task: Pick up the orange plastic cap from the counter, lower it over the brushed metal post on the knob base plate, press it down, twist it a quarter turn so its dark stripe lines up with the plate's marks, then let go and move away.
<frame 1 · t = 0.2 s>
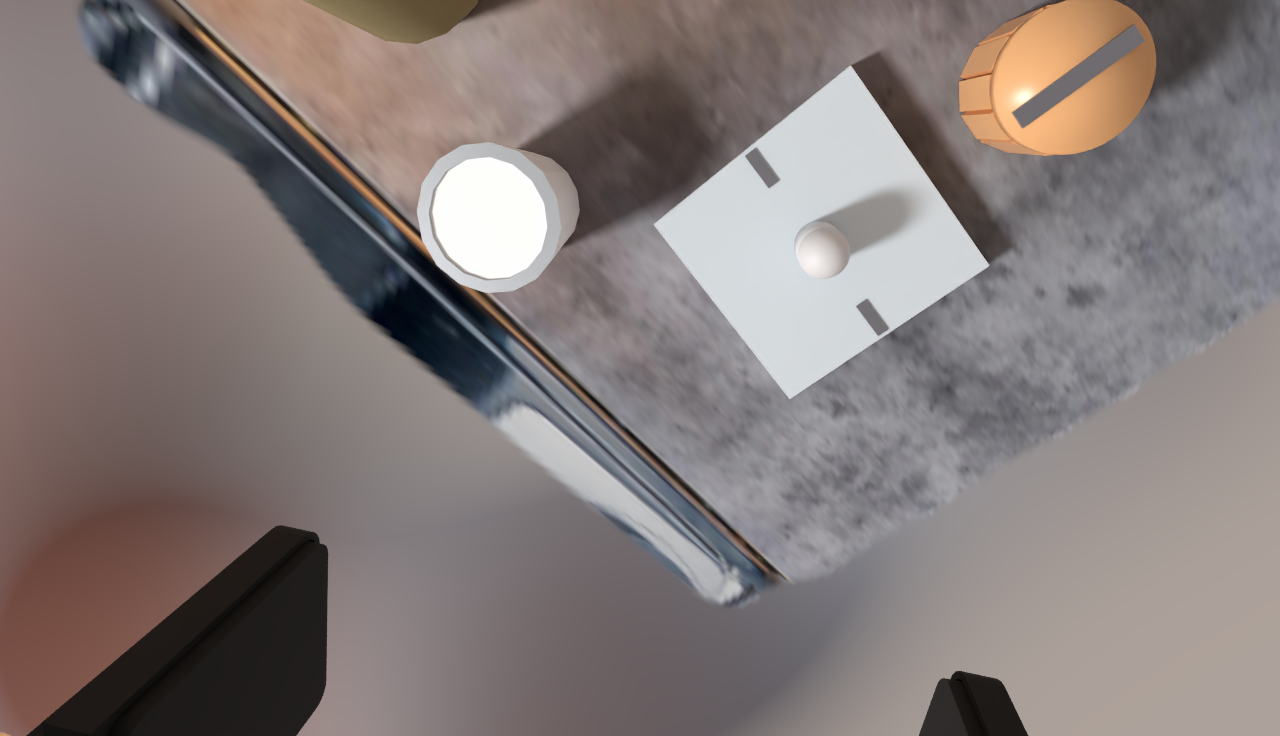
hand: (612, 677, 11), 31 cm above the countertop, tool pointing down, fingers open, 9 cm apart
white cup: (530, 205, 40), on the countertop
knob base plate: (815, 240, 38), on the countertop
cap: (1025, 85, 35), on the countertop
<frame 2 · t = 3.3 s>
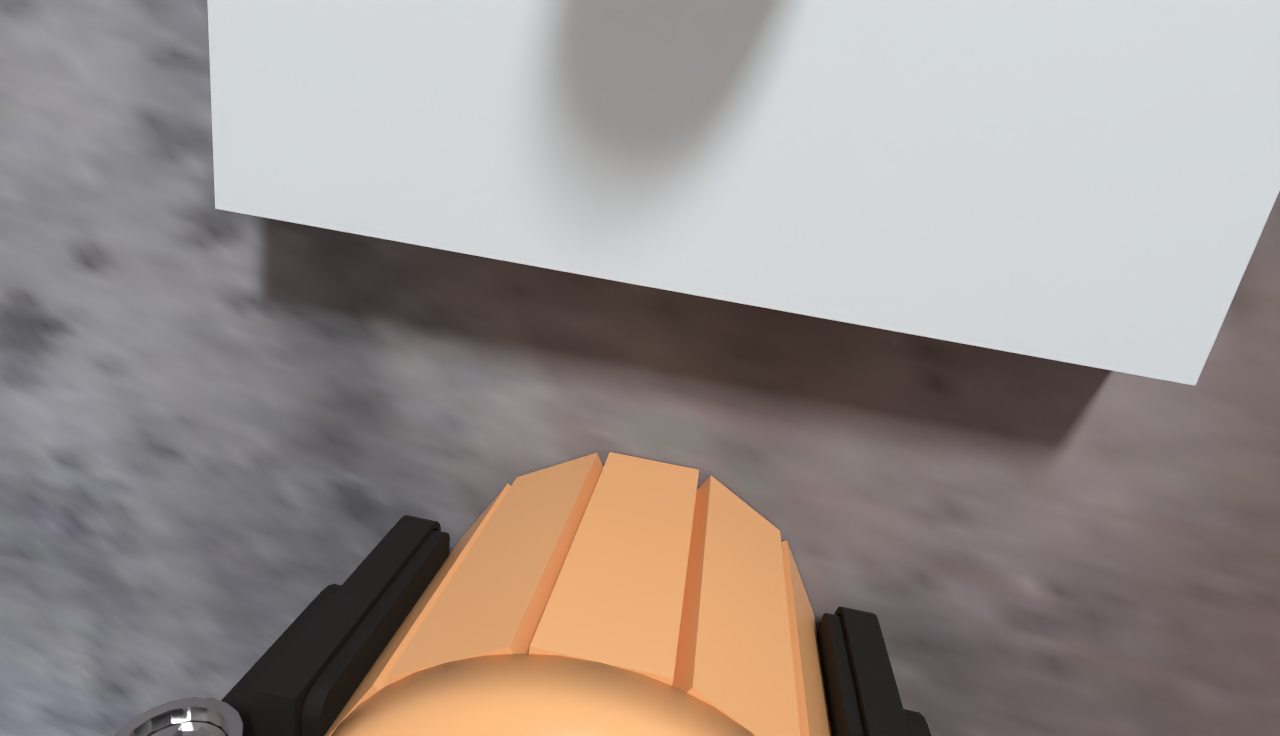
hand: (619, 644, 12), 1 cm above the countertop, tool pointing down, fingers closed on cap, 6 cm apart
cap: (625, 621, 12), on the countertop, touching gripper
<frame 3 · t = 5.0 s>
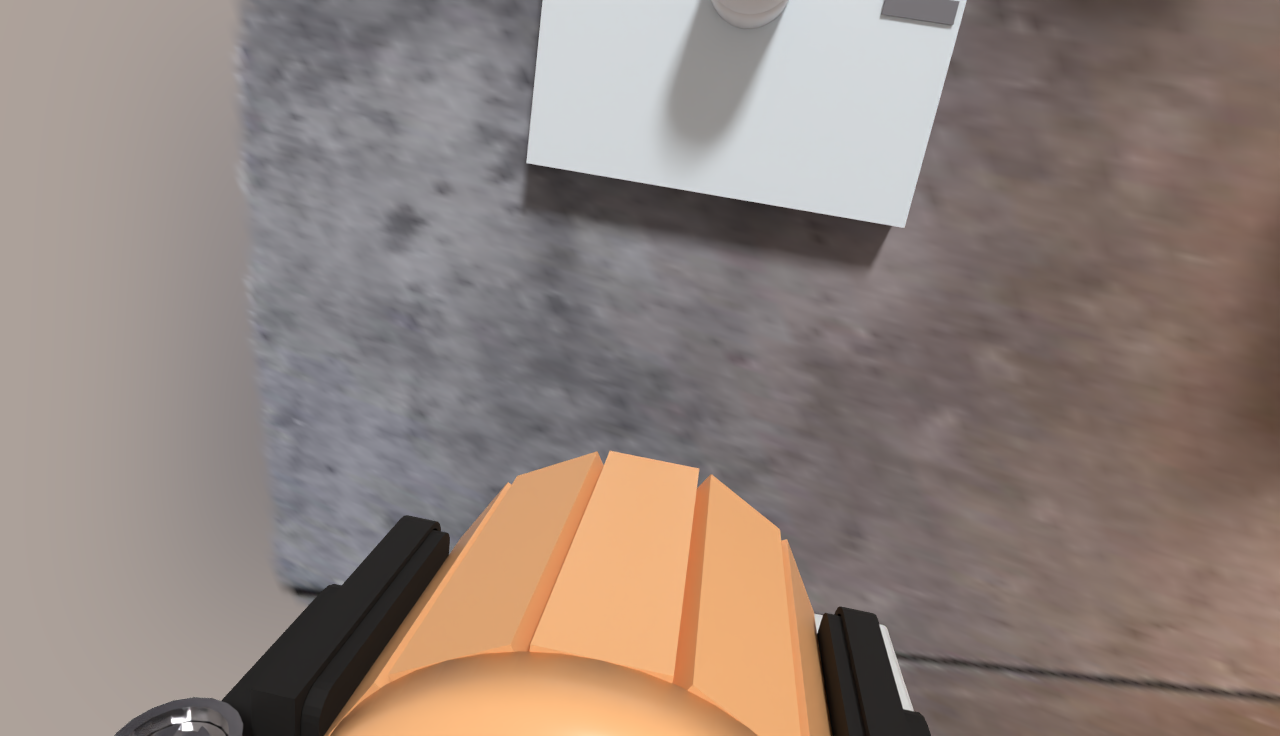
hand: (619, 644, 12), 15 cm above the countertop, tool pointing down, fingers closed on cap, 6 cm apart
cap: (626, 619, 12), point 15 cm above the countertop, touching gripper
small box: (775, 658, 30), on the countertop
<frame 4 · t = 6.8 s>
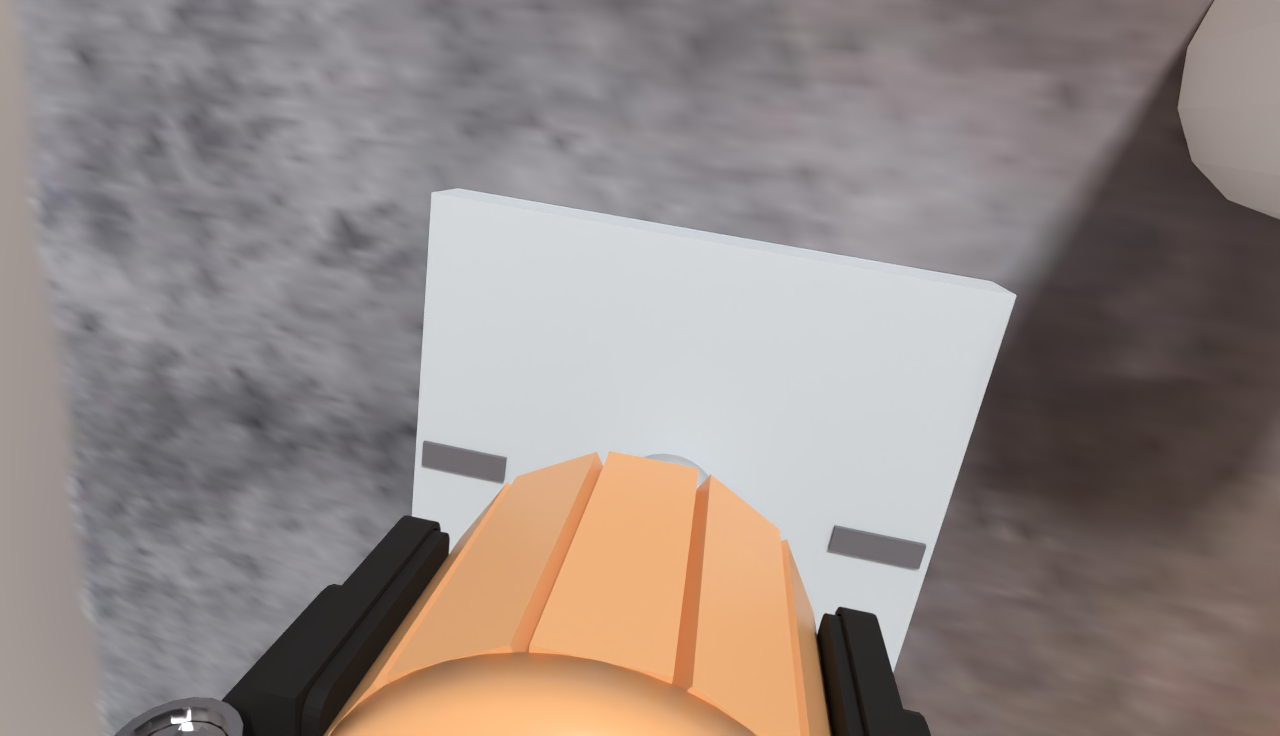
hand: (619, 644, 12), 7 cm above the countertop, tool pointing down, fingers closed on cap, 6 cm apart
knob base plate: (671, 473, 18), on the countertop
cap: (625, 620, 12), point 6 cm above the countertop, touching gripper
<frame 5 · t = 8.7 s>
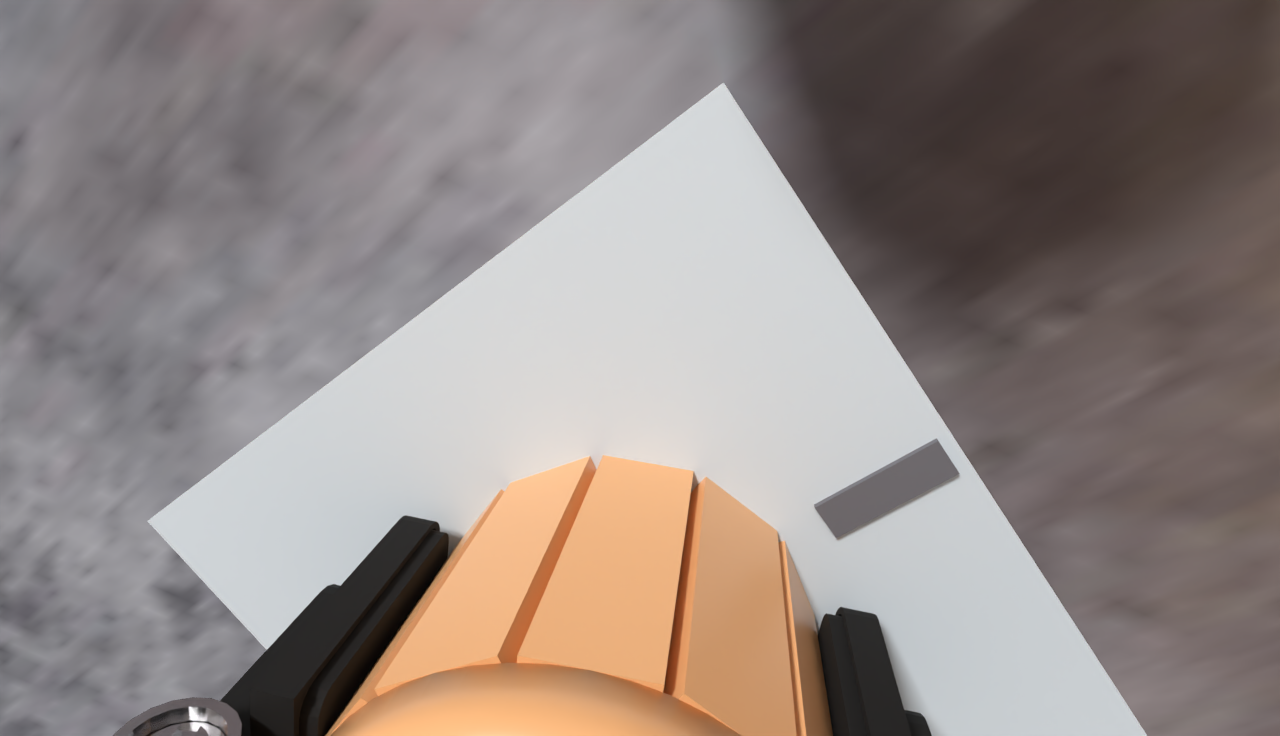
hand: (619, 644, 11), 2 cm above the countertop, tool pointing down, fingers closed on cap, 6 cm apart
knob base plate: (636, 574, 13), on the countertop
cap: (624, 625, 12), point 2 cm above the countertop, touching gripper, knob base plate
when the fingers open (2 cm above the countertop, at t = 10.3 s): cap stays where it is, resting on knob base plate.
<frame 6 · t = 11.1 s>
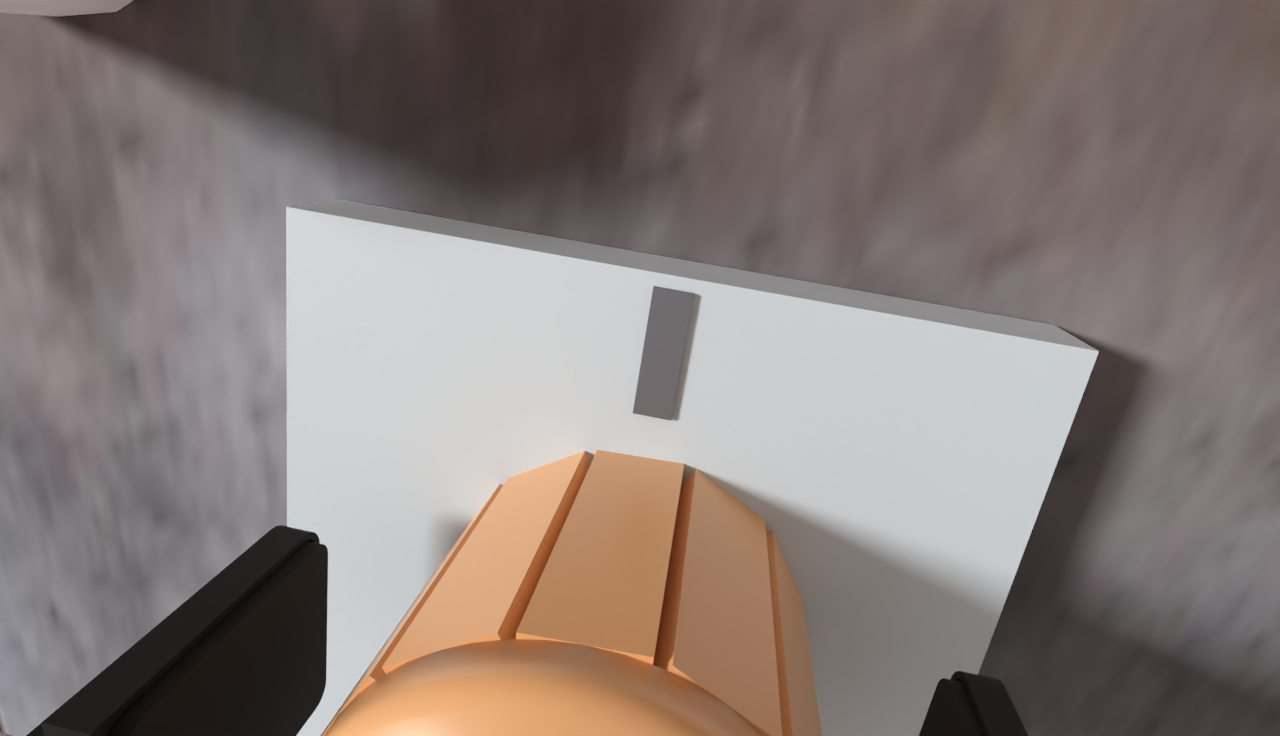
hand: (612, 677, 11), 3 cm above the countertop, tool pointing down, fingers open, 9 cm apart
knob base plate: (629, 568, 14), on the countertop
cap: (620, 614, 12), point 1 cm above the countertop, touching knob base plate
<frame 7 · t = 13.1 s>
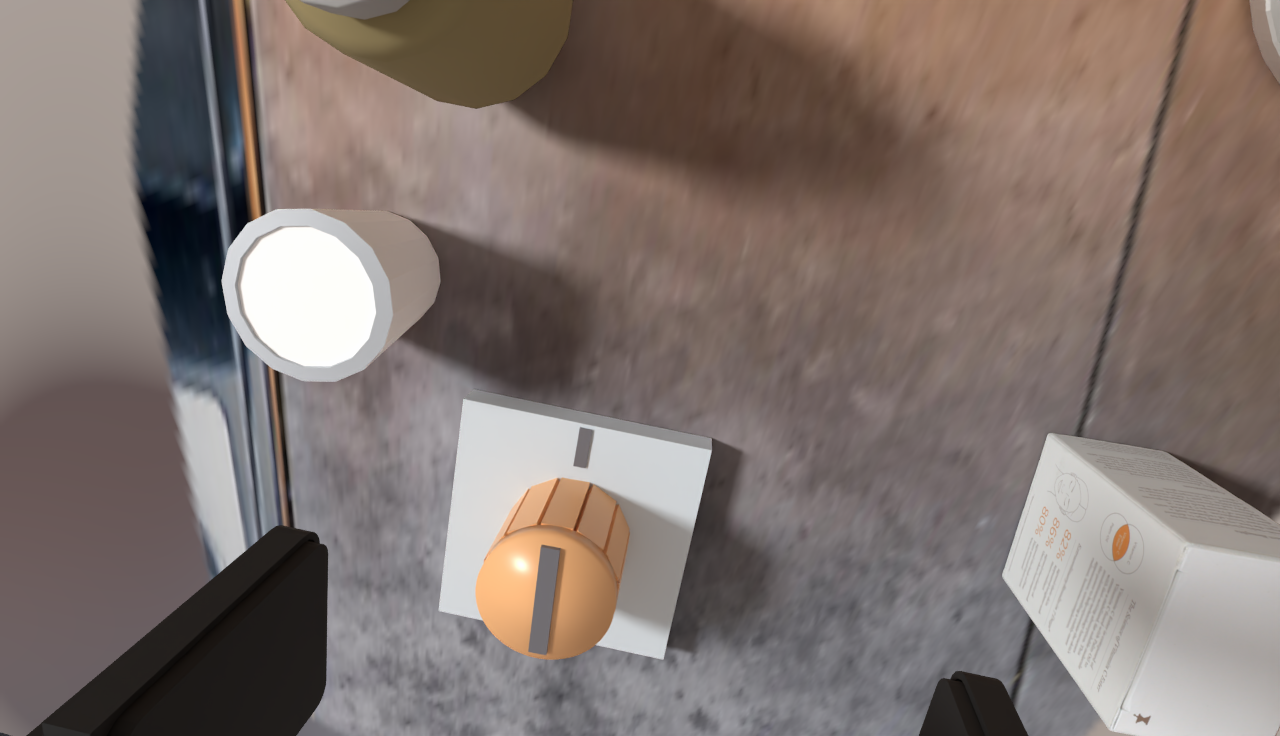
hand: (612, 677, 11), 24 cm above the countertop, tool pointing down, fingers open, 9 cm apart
white cup: (385, 269, 35), on the countertop
squeeze bottle: (496, 13, 31), on the countertop
knob base plate: (573, 520, 37), on the countertop
cap: (568, 534, 36), point 1 cm above the countertop, touching knob base plate
small box: (1077, 511, 35), on the countertop
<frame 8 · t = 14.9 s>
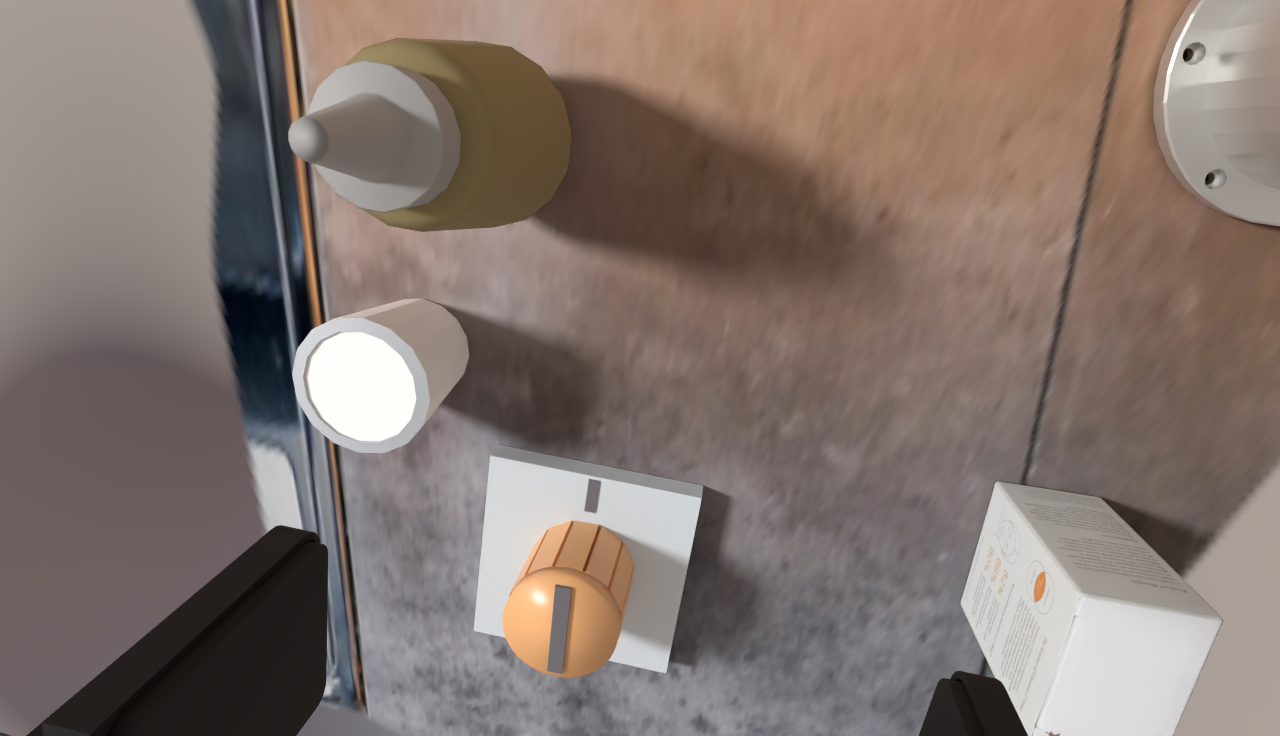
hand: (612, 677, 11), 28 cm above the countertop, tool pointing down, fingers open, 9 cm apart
white cup: (422, 346, 41), on the countertop
squeeze bottle: (510, 137, 37), on the countertop
knob base plate: (586, 554, 43), on the countertop
cap: (582, 567, 42), point 1 cm above the countertop, touching knob base plate
small box: (1025, 548, 40), on the countertop
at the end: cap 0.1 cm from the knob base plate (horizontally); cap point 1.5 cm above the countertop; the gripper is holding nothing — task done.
